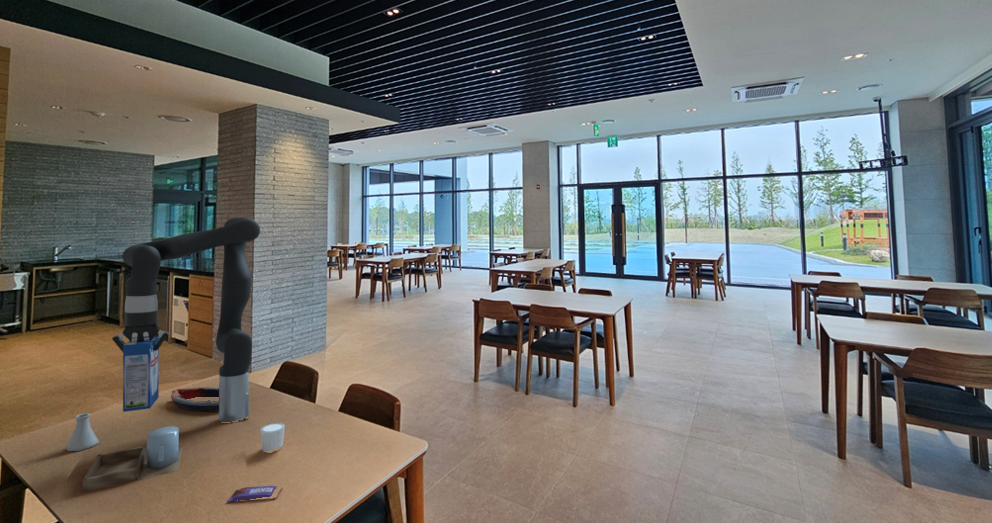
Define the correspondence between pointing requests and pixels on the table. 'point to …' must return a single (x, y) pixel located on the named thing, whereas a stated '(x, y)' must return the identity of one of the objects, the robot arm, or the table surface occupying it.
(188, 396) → the dish
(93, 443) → the flask
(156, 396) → the milk carton
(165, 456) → the pale blue rounded block
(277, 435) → the shot glass
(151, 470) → the caddy
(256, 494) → the snack package
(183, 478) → the table surface
